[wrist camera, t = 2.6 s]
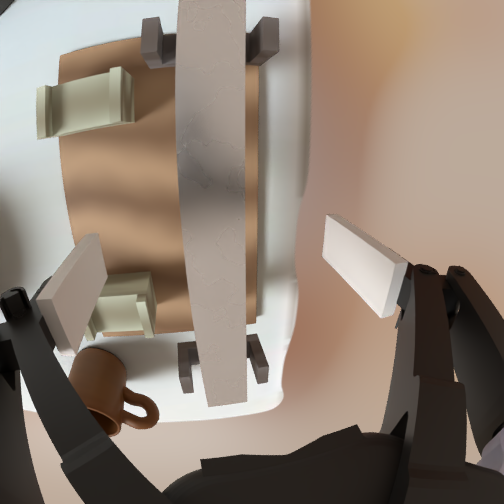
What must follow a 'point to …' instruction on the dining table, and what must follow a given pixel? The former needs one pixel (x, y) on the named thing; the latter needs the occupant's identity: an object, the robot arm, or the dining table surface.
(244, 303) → the rail
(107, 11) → the dining table surface
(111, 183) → the rack
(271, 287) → the dining table surface
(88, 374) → the mug
